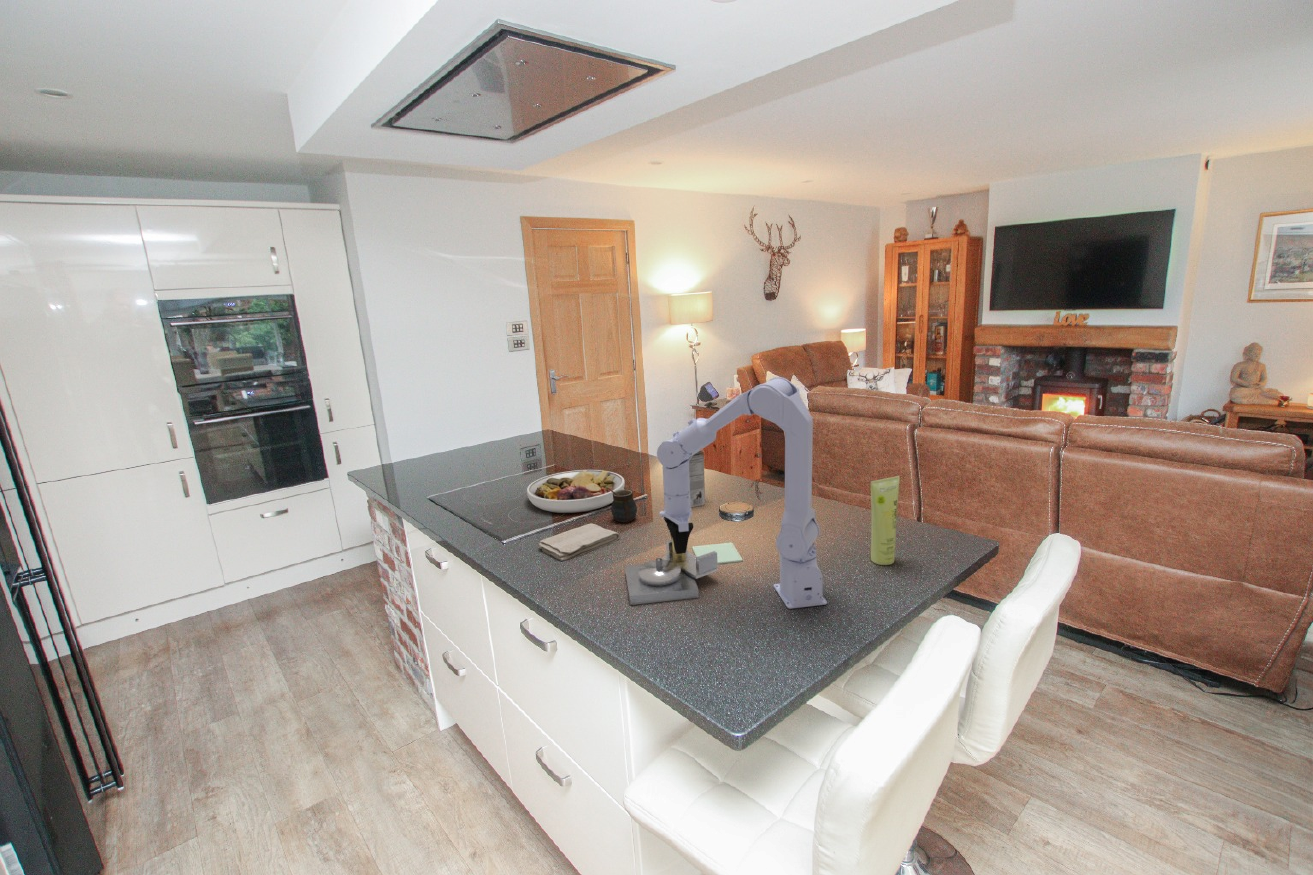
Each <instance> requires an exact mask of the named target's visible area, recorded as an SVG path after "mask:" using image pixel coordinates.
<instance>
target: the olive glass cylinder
mask: <svg viewBox="0 0 1313 875" xmlns="http://www.w3.org/2000/svg"><path fill="white" fill-rule="evenodd" d="M671 540H672V549H673V560H675V561H684V560H686V553H682V554H676V551H675V548H674V543H673V538H672V539H671Z"/></svg>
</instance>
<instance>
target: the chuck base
mask: <svg viewBox="0 0 1313 875" xmlns="http://www.w3.org/2000/svg"><path fill="white" fill-rule="evenodd" d="M643 564H644V563H637V564H632V565H631V564H629V565H625V566H624V568H625V569H624V570H625V578H626V584H627V585H626V586H627V590H628V597H629V604H630V606H637V605H643V604H644V605H645V604H652V603H653V604H654V603H660V602H661V603H663V602H671V601H678V600H680V601H681V600H689V599H699V593H700V592H699V587H698V585H697V582H696V579H695V578H694V577H692V576H690V575H689V574H687V573H685V572H684V571H682V570H681V577H680V578H679V579H678V580H677V581H676V582H674V583H671V584H668V585H660V586H655V585H649V584H645V583H643V582H642V581H641V580H640V579H639V567H640V566H641V565H643Z"/></svg>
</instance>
